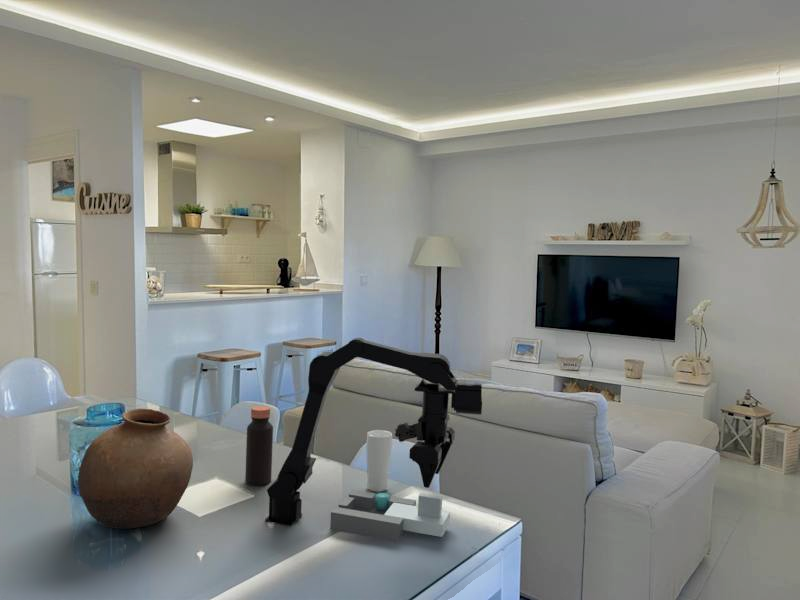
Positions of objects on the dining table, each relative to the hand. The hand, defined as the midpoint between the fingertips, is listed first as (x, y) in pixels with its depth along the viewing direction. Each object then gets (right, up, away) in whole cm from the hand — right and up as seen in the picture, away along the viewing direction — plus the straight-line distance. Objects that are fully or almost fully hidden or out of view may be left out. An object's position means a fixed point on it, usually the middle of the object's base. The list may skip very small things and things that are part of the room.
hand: (431, 480), depth 132 cm
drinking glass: (-13, -10, +25) cm, 30 cm away
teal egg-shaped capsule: (-11, -9, +10) cm, 18 cm away
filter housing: (-13, -11, +4) cm, 18 cm away
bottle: (-45, -9, +26) cm, 53 cm away
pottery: (-66, -9, -1) cm, 66 cm away
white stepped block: (-3, -11, +1) cm, 11 cm away
